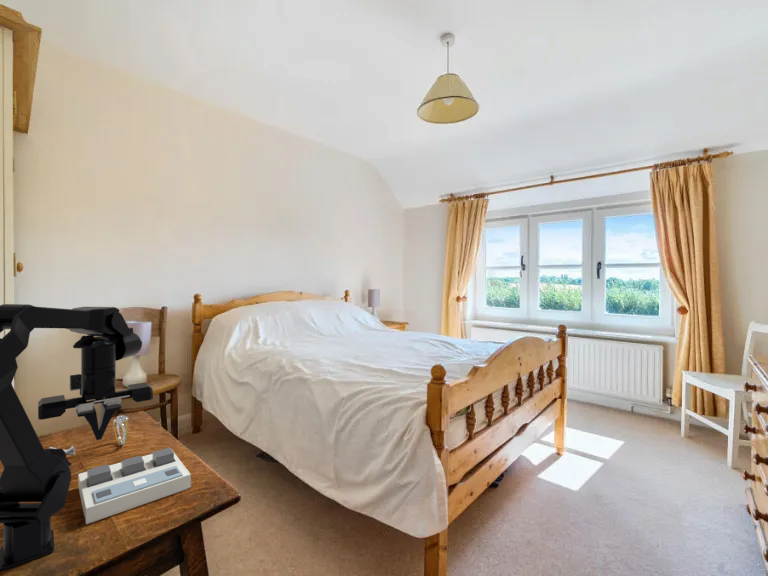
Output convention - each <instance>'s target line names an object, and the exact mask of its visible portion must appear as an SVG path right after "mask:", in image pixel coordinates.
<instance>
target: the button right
mask: <svg viewBox="0 0 768 576" xmlns="http://www.w3.org/2000/svg"><path fill="white" fill-rule="evenodd" d="M171 449H172V448H171V447H166V448H162V449H159V450H155V451H152V454H153V465H154V467H159V466H162V465H166V464H169V463H172V462H174V453H175V451H174V450H173V449H172V450H173V451H172V450H171Z"/></svg>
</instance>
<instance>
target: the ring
mask: <svg viewBox="0 0 768 576" xmlns="http://www.w3.org/2000/svg"><path fill="white" fill-rule="evenodd" d="M112 422H113V429H114V433H115V438H116V441H117V443H118V446H124V445H125V444H126V443H127V441H128V437H129V432H130V431H129V430H130V424H129V416H126V415H124V414H122V415H117V416H116V418H115V419H113V421H112ZM120 427H121V429H122V430H121V431H122V437H121V433H120Z"/></svg>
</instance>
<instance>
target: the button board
mask: <svg viewBox="0 0 768 576" xmlns="http://www.w3.org/2000/svg"><path fill="white" fill-rule="evenodd" d="M171 450H172V451H173V452H174V450H173V449H172V448H171ZM141 457H142V459H143V461H144V471H142V472H139V473H135V474H132V475H128V476H125V477H123V475H122V461H121V462H118V463H117V462H116V463H114V464H110V465H109V467H110V470H111V481H108V482H105V483H102V484H98V485H95V486H91V487H88V484H87V471H84V472H81V473H78V477H77V478H78V479H77V480H78V484H77V487H78V493H79V496H80V497H79V498H80V502H81V507H82V511H83V516H84V521H85V525H88V524H91V523H96V522H98V521H100V520H102V519H105V518H108V517H111V516H114V515H117V514H119V513H123V512H125V511H129V510H131V509H134V508H136V507H139V506H142V505H143V506H144V505H145V504H149V503H151V502H154V501H156V500H157V501H158V500H160V499H162V498H165V497H168V496H171V495H175V494H177V493H181V492H183V491H186V490H189V489H191V488H192V474H191V473H190V471H189V469H187V468H186V466H185V465H184V463H183V462H182V461H181V459H179V457H178V456H177V454H176V453H175V452H174V462H172V463H169V464H166V465H162V466H159V467H154V465H153V453H150V454H146V455H144V456H141ZM190 487H191V488H190ZM188 488H189V489H188Z"/></svg>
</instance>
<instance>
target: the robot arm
mask: <svg viewBox="0 0 768 576" xmlns="http://www.w3.org/2000/svg"><path fill="white" fill-rule="evenodd" d="M34 329H64V330H65V329H66V330H69V331H70V332H73V333H77V334H81V335H82V336H81V337H80V339H79V340H77V341H76V342H75V343H74V344H73V345H72V348H73V349H80V350H81V353H80V354H81V356H80V359H81V363H80V364H81V368H80V369H81V372H80V373H79V374H70V375H69V391H71V392H72V391H76V390H79V395H80V397H79V396H78V397H73V398H67V399H66V396H65V394H61V395H60V394H59V395H54V396H53V395H52V396H47V397H43V398H41V399H39V401H37V416H38V417H37V419H38V420H39V421H40V420H47V419H53V418H59V417H61V416H63V414H65V413H66V410H69V409H70V410H71V409H74V408H75V412H76V415H77V417H79V418H80V417H84V419H85V420H86V422H87V423H88V424H89V426H90V427H91V430H92V432H93V435H94V438H95V439H96V441H100V440H102V439H103V438H104V437H103V436H104V434H105V433H106V430H107V427H108V425H109V423H110V421H111V419H112V418H113V416H114V415H115V413H116V412H117V411H118V410H121V409H123V407H122V404H121V402H122V400H126V399H130V398H131V399H132V400H133V401H134V402H135V403H141V402H146V401H151V400H153V396H154V393H153V388H152V387H151V386H150V385H149V384H148V383H147V382H139V383H133V384H127V388H126V389H124V390H123V389H122V390H117V389H116V388H117V387H116V379H117V378H116V376H117V374H116V369H117V368H116V367H117V365H116V363H117V362H116V361H120V360H123V359H127V358H129V357H132V356H135V355H136V354H138V353H139V352H140V351H141V349H142V346H143V341H142V339H141V338H140V336H139V335H138V334H137V333H135V332H134V328H133V327H129V326H128V323H127V322H126V320H125V318H124V317H123V315H122V313H120V309H119V308H118V307H114V306H80V307H79V306H78V307H73V308H58V307H48V306H47V307H43V306H35V305H32V304H20V303H18V304H17V303H16V304H14V303H5V304H4V303H3V304H0V334H1V333H2V332H3V331H4V330H9V331H8V332H7V333H6V334H5V335H3V336H2V338H0V463H1V464H2V466H3V468H2V469H3V470H2V471H1V473H0V524H2V525H3V528H2V533H3V534H2V535H3V536H2V537H3V539H2V540H3V542H2V543H3V546H2V547H0V572H1V571H5V570H9V569H11V568H13V567H16V566H19V565H22V564H24V563H27V562H29V561H32V560H34V559H37V558H40V557H43V556H45V555H48V554H50V553H53V552H54V551H55V549H56V548H55V536H54V530H53V529H52V527H51V526H52V524H51V523H52V522H51V519H52V518H51V517H53V516H54V515H55V514H56V513H58V512H59V511H61V510H62V509H63V508H64V507H65V505H66V501H67V498H68V497H67V496H68V492H69V490H70V485H71V480H72V472H71V468H70V466H72V463H71V462H70V461H69V460H68V458H67V455H66V453H65V451H64V450H65V449H64V450H63V448H56V449H50V448H45V447H44V446H43V444H42V442H41V440H40V439H39V436H38V434H37V433H36V431H35V428H34V427H33V424H32V421H31V420H30V418H29V417H28V414H27V412H26V410H25V408H24V406H23V404H22V402H21V400H20V398H19V396H18V394H17V392H16V390H15V389H14V386H13V380H14V377H15V375H16V373H17V370H18V362H17V358H18V357H19V355H20V354H22V352H23V351H25V350H26V349H27V347H29V340H30V335H31V334H30V333H31V332H32V331H33V330H34ZM97 404H100V418H99V422H98V416H97V410H96V408H95V405H97Z"/></svg>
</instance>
